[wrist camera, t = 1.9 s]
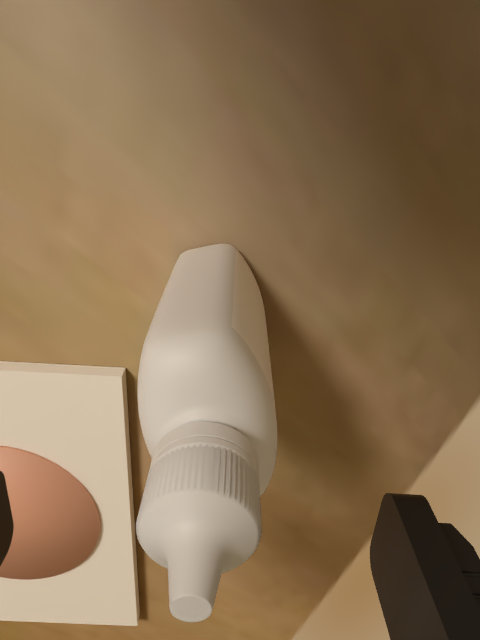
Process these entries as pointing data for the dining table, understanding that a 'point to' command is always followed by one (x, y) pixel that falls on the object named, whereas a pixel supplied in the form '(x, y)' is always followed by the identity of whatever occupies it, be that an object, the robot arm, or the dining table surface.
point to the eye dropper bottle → (205, 425)
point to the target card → (68, 495)
